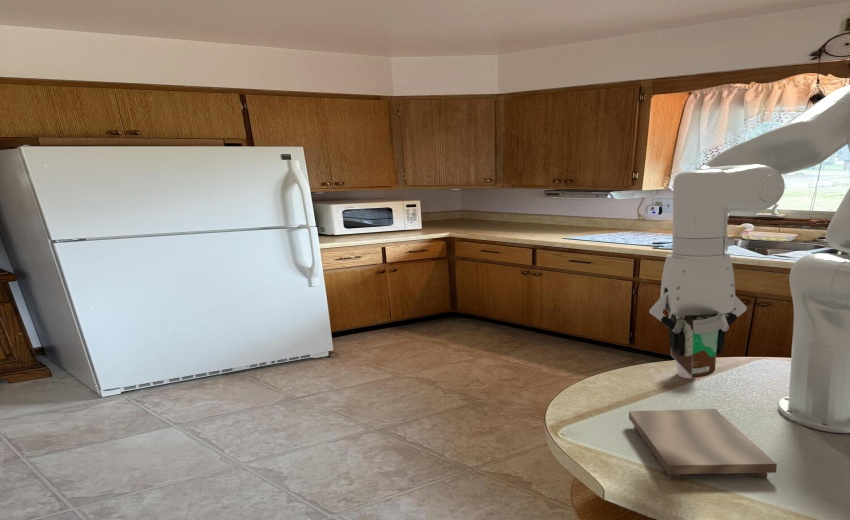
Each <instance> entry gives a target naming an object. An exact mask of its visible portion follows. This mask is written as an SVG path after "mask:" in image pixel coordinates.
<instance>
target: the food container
mask: <svg viewBox="0 0 850 520" xmlns="http://www.w3.org/2000/svg"><path fill="white" fill-rule="evenodd" d="M666 312H668V317H669V316H670V313H671V312H670V310H666ZM722 327H723V320H722V316H721V315H719V312H718V315H708V316H686V317H685V321H684V324H683V327H682V329H681V332H682V333H684V355H683V356H679V355H677V354H676V353H675V352H674V351H672V349H671V348H670V357H672V358H673V359H674V361H675V362H676V361H677V363H678V364H679V365H680V366H681V367H682V368H683V369H684V370H685V371H686V372H687V373H688V374H689V375H690V376H691V377H692V378H691V379H694V378H695V379H696V378H697V379H698V378H703V377H707V376H708V377H709V376H710V375H712V374H713V373H714V372H715V371H716V362H717V341H718V330H719V329H721V328H722Z"/></svg>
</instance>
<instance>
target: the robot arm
mask: <svg viewBox="0 0 850 520" xmlns="http://www.w3.org/2000/svg"><path fill="white" fill-rule="evenodd" d="M845 146H847V148H848V150H849V152H850V85H845V86H844V87H840V88H839V89H836V90H834V91H832V92H830V93H829V94H828V95H826V96H825V97H823V98H821V99H820V100H818V101H817V102H815V103H814V104H813V105H811V106H810V107H808V108H807V109H806V110H804V111H803V112H802V113H800V114H797V116H795V117H794V118H792V119H791V120H789V121H787V123H785V124H783V125H781V126H778V127H777V128H776V127H775V128H774V129H771V130H769V131H766V132H763V133H762V134H760V135H758V136H756V137H752V138H751V139H748V140H746V141H744V142H741V143H738V144H736V145H734V146H731V147H730V148H728V149H725V150H724V151H722V152H720V153H717V155H715V156H714V157H712V158H711V159H709V160H708V161H706V162H704V164H701V166H699V167H698V168H696V169H695V170H686V171H682V172H679V173H677V174H676V175H675V177H674V179H673V183H672V184H673V187H672V190H673V191H672V246H671V247H672V249H671V250H672V252H671V253H670V254H667V255H666V257H665V261H664V265H663V270H662V271H663V272H662V276H661V284H660V294H659V295H660V296H659V298H658V300H657V301H656V302H655V303H654V304H653V305H652V306H651V308H649V314H650V315H652V316H653V317H655V318H656V319H657V320H659V321H660V322H661V323H662V324H663V325H664V326H665V327H666V328H667V329H669V330H668V331H669V334H668V335H669V337H668V341H669V342H668V344H669V345H668V346H669V348H670V350H671V349H672V351H674V352H675V353H676V354H677V355H679V356H683V355H684V333H682V332H681V329H682V327H683V324H684V321H685V317H686V316H708V315H718V312H719V315H721V316H722V320H723V327H722V328H721V329H719V330H718V341H717V353H716V355H723V350H724V349H723V348H724V347H725V342H726V341H725V340H726V338H725V337H726V335H725V334H726V332H727V331H728V330H730V329H729V328H730V326H731V325H732V324H733V323H734V322H736V321H737V319H738V317H740V316H741V315H742V314H744V313H745V312H746V311H747V310H748V307H747V305H745V303H744V302H743V301H742V300H741V299H740V297H738V296H737V295H736V282H735V281H736V280H735V274H734V266H733V262H732V258H731V254H730V253H729V254H728V253H727V252H728V247H734V245H735V244H736V240H735V238H734V237H729V235H728V217H729V216H728V214H729V213H730V212H732V213H733V212H734V213H758V212H762V211H763V212H764V211H766V210H768V209H770V208H771V207H773V206H775V205H776V204H777V203H778V202H779V201H780V200H781V198H782V197H783V195H784V193H785V188H786V186H785V185H786V183H785V180H784V177H783V176H782V175H786V174H791V173H795V172H799V171H803V170H806V169H809V168H812V167H816V166H818V165H819V164H822V163H823V162H824V161H826V160H827V159H829V158H830V157H831V156H833V155H834V154H835V153H837V152H838V151H840V150H841V149H843V148H844V147H845ZM825 240H826V242H827V244H828V245H829V246H830V247H831V248H833V249H834V250H837V251H840V252H843V253H847V254H848V255H847V254H846V255H845V254H840V253H825V252H821V253H820V252H819V253H811V254H807V255H804V256H803V257H801V258H799V259H798V260H796V261H795V262H794V263H793V265H792V267H791V268H790V273H789V276H788V277H789V280H788V281H789V289H790V293H791V298H792V305H793V327H792V342H791V343H792V344H791V357H790V358H791V359H790V361H791V362H790V370H789V371H790V374H789V387H788V395H787V396H785V397H782V398H780V399H779V401H778V403H777V404H778V405H777V409H778V411H779V412H780V413H781V414H782V415H783V416H784V417H786V418H788V419H789V420H791V421H793V422H795V423H797V424H800V425H802V426H804V427H807V428H811V429H815V430H818V431H822V432H823V431H824V432H828V433H833V434H850V255H849V254H850V187H849V188H848V190H847V192H846V193H845V195H844V197H843V199H842V200H841V202H840V204H839V205H838V208H837V209H836V211H835V213H834V214H833V216H832V218H831V220H830V222H829V224H828V226H827V229H826V232H825ZM664 310H666V311H667V310H670V312H671V313H670V316H669V315H668V316H667V315H666V314H664V313H663V312H664Z"/></svg>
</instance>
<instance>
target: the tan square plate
mask: <svg viewBox="0 0 850 520" xmlns="http://www.w3.org/2000/svg"><path fill="white" fill-rule="evenodd" d="M628 420H630V422H631V423H632V425H633V429H634V431H635V432H638V433H639V435H640V436H641V438H642V439H643V440H644V442H645V443H646V445H647V446H648V447H649V449H650V450H651V451H652V453H653V454H654V456H655V457H656V458H657V460H658V461H659V463H660V465H661V466H662V467H663V468H664V470H665V471H666V476H667V478H668V479H670V480H671V481H680V480H681V479H682V475H687V474H688V475H691V474H693V475H695V474H696V475H697V474H702V475H704V474H705V475H707V474H751V476H752V477H754V478H756V479H759V480H766V479H768V473H771V474H775V473H777V467H778V465H777V462H775V461H774V460H773V459H772V458H771V457H770V456H768V455H767V454H766V453H765V452H764V451H763V450H762V449H761V448H760V447H759V446H757V444H755V443H754V442H753V441H752V440H751V439H750V438H748V436H747V435H745V434H744V433H743V432H742V431H740V430H739V429H738V428H737V427H736V426H735V425H734V424H733V423H732V422H731V421H730V420H728V419H727V418H726V417H725V416H724V415H723V414H722V413H720V412H719V411H718V409H717V408H701V409H700V408H699V409H696V408H695V409H694V408H693V409H660V410H659V409H657V410H630V411H628Z"/></svg>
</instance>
